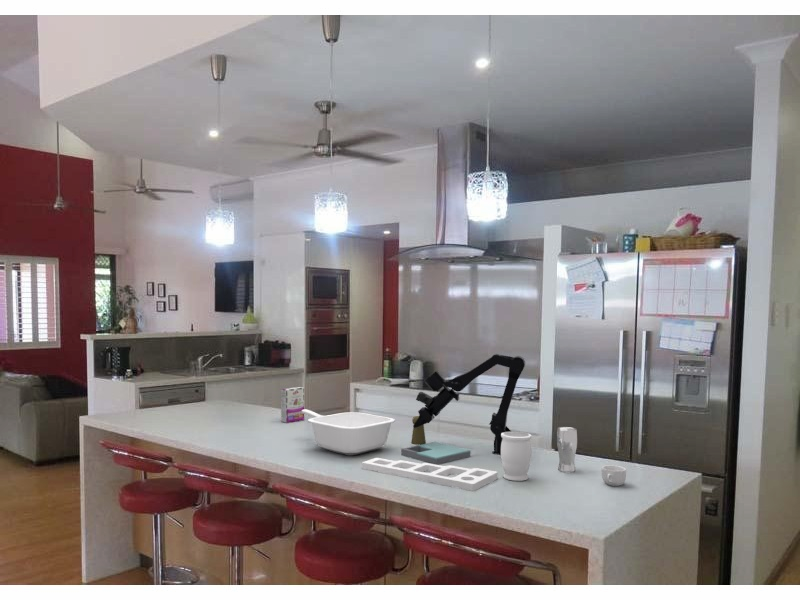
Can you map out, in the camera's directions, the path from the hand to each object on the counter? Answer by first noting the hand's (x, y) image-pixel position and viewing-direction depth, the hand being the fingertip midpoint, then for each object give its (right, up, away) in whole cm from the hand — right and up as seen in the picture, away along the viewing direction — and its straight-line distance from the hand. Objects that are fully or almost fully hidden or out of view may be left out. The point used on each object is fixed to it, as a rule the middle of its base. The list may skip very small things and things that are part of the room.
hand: (415, 425), depth 260 cm
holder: (+3, -9, -39) cm, 41 cm away
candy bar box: (-60, -9, +54) cm, 81 cm away
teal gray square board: (+8, -9, -14) cm, 18 cm away
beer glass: (+53, -10, -34) cm, 64 cm away
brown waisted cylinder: (+1, -7, 0) cm, 7 cm away
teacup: (+64, -10, -51) cm, 82 cm away
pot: (-32, -9, 0) cm, 33 cm away
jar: (+33, -9, -44) cm, 56 cm away
